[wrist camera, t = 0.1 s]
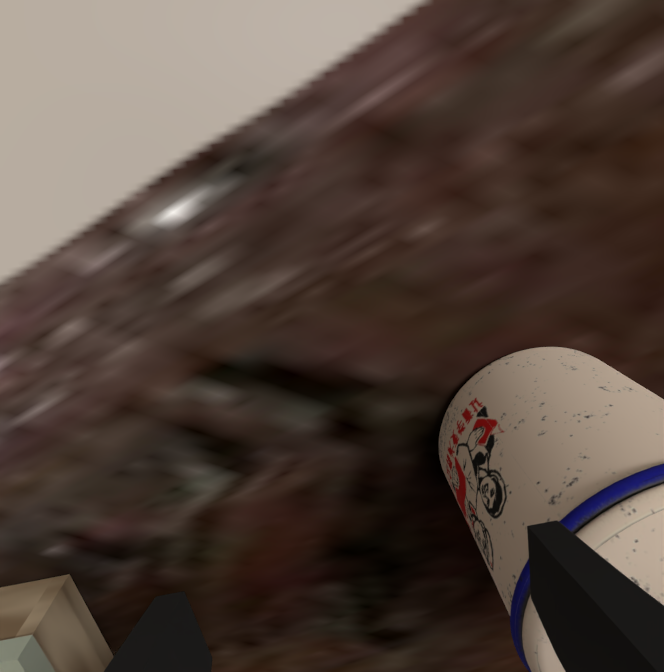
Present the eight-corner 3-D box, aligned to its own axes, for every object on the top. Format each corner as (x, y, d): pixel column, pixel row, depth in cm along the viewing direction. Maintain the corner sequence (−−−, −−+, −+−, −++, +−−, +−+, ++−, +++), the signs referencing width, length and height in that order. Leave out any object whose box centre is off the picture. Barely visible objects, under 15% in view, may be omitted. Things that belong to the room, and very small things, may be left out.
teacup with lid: (412, 369, 19) (562, 640, 8) (624, 313, 18) (1106, 514, 7) (458, 573, 23) (599, 944, 12) (632, 531, 22) (948, 873, 11)
